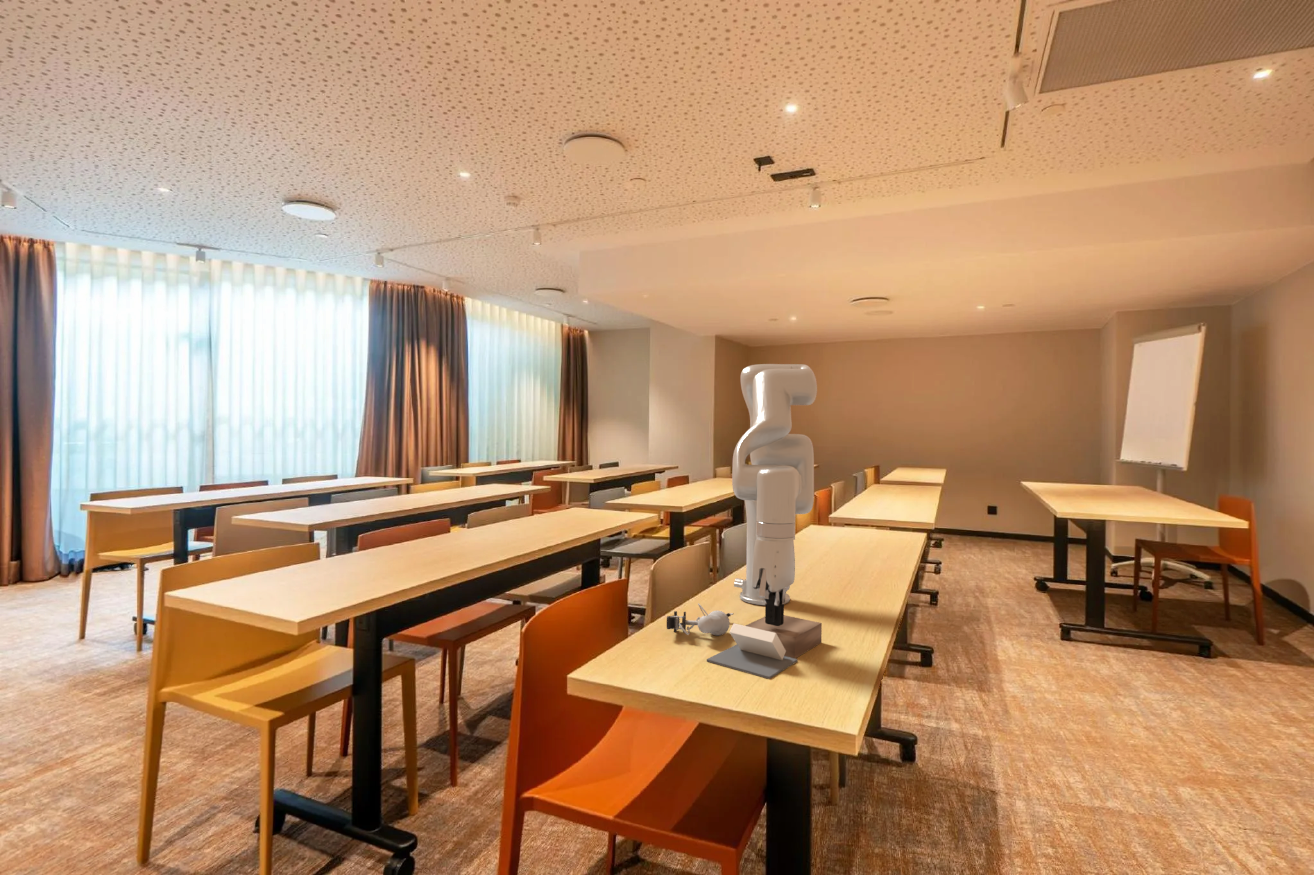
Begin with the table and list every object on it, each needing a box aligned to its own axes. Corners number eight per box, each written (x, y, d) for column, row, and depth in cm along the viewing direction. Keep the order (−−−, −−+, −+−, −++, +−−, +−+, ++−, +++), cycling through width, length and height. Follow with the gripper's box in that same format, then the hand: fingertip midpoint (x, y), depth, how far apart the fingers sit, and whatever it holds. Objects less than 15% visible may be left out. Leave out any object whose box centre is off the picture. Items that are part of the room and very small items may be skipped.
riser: (744, 645, 125) (744, 625, 125) (772, 631, 135) (773, 612, 135) (795, 658, 118) (795, 637, 118) (821, 642, 128) (821, 623, 128)
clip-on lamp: (693, 631, 144) (661, 636, 128) (693, 602, 145) (661, 603, 130) (743, 634, 139) (715, 639, 123) (742, 604, 141) (715, 605, 125)
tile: (744, 640, 123) (740, 649, 122) (733, 623, 120) (729, 632, 119) (786, 651, 117) (782, 660, 116) (775, 633, 114) (772, 642, 113)
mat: (706, 661, 116) (706, 659, 116) (737, 646, 125) (737, 644, 125) (769, 679, 108) (769, 676, 108) (797, 661, 117) (797, 659, 117)
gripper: (776, 525, 131) (774, 612, 131) (739, 533, 120) (738, 629, 120) (809, 528, 127) (808, 619, 127) (775, 537, 115) (773, 637, 115)
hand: (774, 623), depth 123 cm, fingers closed
